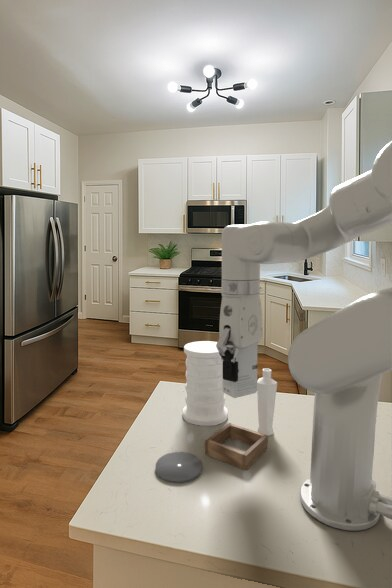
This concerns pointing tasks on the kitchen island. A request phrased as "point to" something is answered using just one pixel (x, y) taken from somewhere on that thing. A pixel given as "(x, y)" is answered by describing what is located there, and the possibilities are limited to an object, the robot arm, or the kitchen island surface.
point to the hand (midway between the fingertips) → (240, 374)
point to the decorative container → (204, 385)
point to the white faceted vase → (266, 402)
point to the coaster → (178, 467)
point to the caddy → (232, 455)
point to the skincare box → (244, 373)
